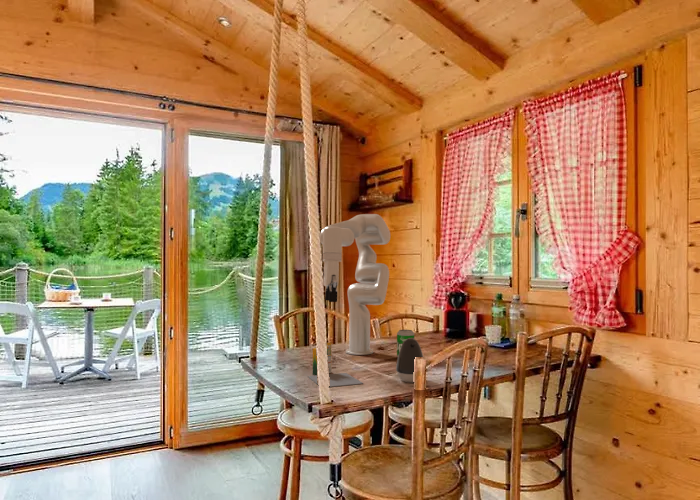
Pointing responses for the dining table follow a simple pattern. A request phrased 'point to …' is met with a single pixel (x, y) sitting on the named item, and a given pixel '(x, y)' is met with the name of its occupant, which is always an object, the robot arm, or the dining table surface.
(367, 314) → the robot arm
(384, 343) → the dining table surface
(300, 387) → the dining table surface
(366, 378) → the dining table surface
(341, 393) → the dining table surface
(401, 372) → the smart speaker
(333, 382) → the mat
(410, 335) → the soda can
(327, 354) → the crayon box
